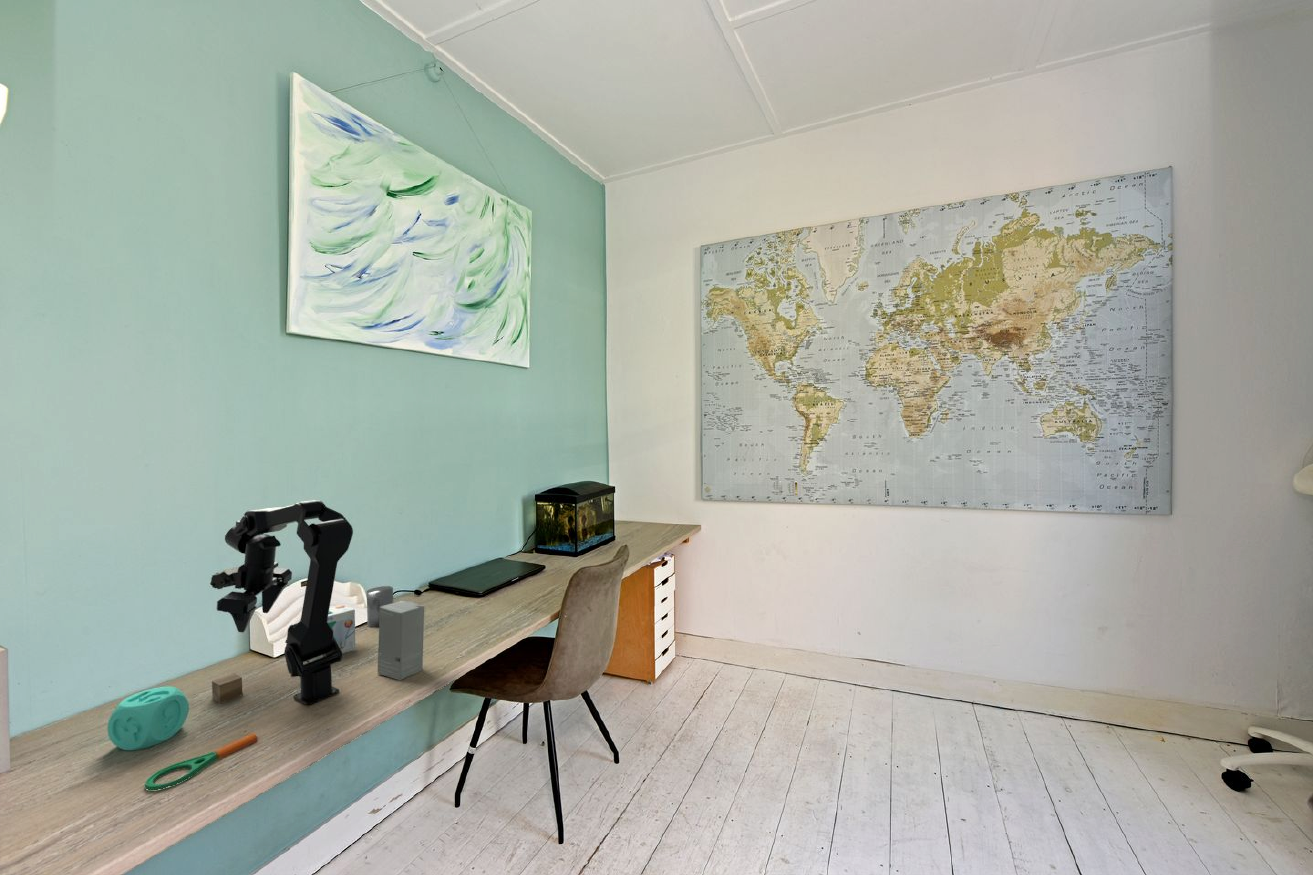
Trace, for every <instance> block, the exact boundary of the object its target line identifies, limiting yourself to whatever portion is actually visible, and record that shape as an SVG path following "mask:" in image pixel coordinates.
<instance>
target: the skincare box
mask: <svg viewBox="0 0 1313 875" xmlns="http://www.w3.org/2000/svg"><path fill="white" fill-rule="evenodd" d="M424 626H425V605H422V604H418V603H416V602H411V601H406V600H399V601H396V602H393V603H392V604H388V605H384V606H382V607H380V619H379V627H378V645H377V646H378V648H377V649H378V652H377V675H382V676H384V677H388V678H391V679H395V680H397V681H402V680H404V679H406V678H408V677H410V676H413V675H415V674H417V673H419V672H421V671H423V665H424V664H423V662H424V660H423V659H424V658H423V657H424V630H425V629H424V628H425V627H424Z"/></svg>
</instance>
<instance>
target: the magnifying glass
mask: <svg viewBox="0 0 1313 875" xmlns="http://www.w3.org/2000/svg"><path fill="white" fill-rule="evenodd" d="M257 741H258V736H257V734H256V733H254V732H253V733H250V734H248V735H246V736H244V737H242V738H240V739H237V740H236V741H234V742H231V743H229V744H227V745H225V746H223V747H220V748H218V749H216V750H215V751H211V752H208V753H205V754H202V755H199V756H195V757H192V758H189V759H186V760H182V761H179V762H175V763H172V764H170V765H168V766H165V767H164V768H161V769H160V770H158V771H156V772H154V773H153V774H152V775H150V776H149V777H148V778H147V779H146V781H145V782H144V789H145V788H146V789H148V790H158V789H163V788H166V787H168V786H173V785H176V784H177V783H180V782H182V781H184V780H186V779H188V778H189V777H191V776H193V777H194V776H196V775H197V774H198V773H200V772H201V771H202V769H203V768H204V769H205V768H207V767H208V766H210V765H211V764H212V763H214V762H215V761H218V760H220V759H223V758H224V757H226V756H228V755H231V754H232V753H235V752H237V751H239V750H241V749H243V748H245V747H247V745H248V746H249V745H252V744H254V743H256V742H257ZM206 766H207V767H206ZM183 768H185V769H187V768H189V772H187V773H185V774H184V775H183V776H181V777H179V778H177V779H175V780H171V781H168V782H164V783H155V782H156V781H157V780H158V779H159V777H160V776H161V777H163V776H165V775H167V774H169V773H171V772H172V773H173V772H174V771H178V770H177V769H179V770H183ZM204 769H203V770H204ZM200 770H201V771H200ZM199 771H200V772H199ZM197 772H198V773H197ZM196 773H197V774H196ZM161 777H160V778H161ZM191 778H192V777H191ZM156 779H157V780H156ZM155 780H156V781H155ZM188 780H189V779H188ZM154 781H155V782H154ZM186 781H187V780H186ZM184 782H185V781H184ZM182 783H183V782H182ZM180 784H181V783H180ZM176 786H177V785H176ZM173 787H174V786H173ZM146 789H145V790H146Z"/></svg>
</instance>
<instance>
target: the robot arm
mask: <svg viewBox="0 0 1313 875" xmlns="http://www.w3.org/2000/svg"><path fill="white" fill-rule="evenodd" d="M315 519H318V520H319V522H314V523H310V524H308V522H306V521H307V520H315ZM292 523H293V524H294V523H297V528H296V535H297V536H298V537H299V539H300V540H301V541H302V543H303V550H304V552H305V554H307V556H308V558H309V567H308V572H307V573H308V574H307V578H306V586H305V592H304V598H303V602H302V609H301V614H300V620H299V621H298V622H296V623H293V624H291V625H289V627H288V628H287V637H286V640H285V641H284V642H285V644H286V645H285V647H284V652H283V654H284V658H285V662H286V666H287V670H288V674H290V677H292V678H296V677H299V681H300V683H299V684H300V692H299V693H296V694H294V695H293V699H294V700H295V701H296V700H297V701H298V702H300V703H303V704H305V705H307V706H309V705H312V704H314V703H317V702H320V701H321V700H324V699H326V698H329V697H331V696H333V695H336V694H338V693H340V689H339V688H337V687H335V686H333V678H332V677H333V676H332V675H333V674H332V665H334V664H336V663H339V662H342V660H343V654H344V653H342V651H341V649H340V648H339V646H338V644H337V642H336V640H335V639H334V637H333V630H332V628H331V627H330V625H329V624H328V622H327V619H328V614H329V609H330V607H331V601H332V597H333V596H332V595H333V591H334V586H335V585H334V584H335V578H336V572H337V567H338V562H339V561H340V560H341V558H342V557H343V556H344V555H345V553H347V551H348V550H349V548H350V545H351V541H352V538H353V534H354V528H353V526H352V524H351V523H350V522H349V520H347V518H346V517H344V514H342V513H341V512H338V511H336V510H334V509H332V508H330V507H328V506H326V504H325V503H324V502H323V501H322V500H318V499H314V500H313V499H312V500H305V501H298V502H297V503H294V504H292V505H287V506H283V507H281V506H279V507H278V506H274V507H268V508H259V509H252V510H247V511H245V512H244V514H243V516H242V517H241V519H240V520H236V521H235V525H234V526H232V527H231V528H230V529H229V530H227V532H226V533H225V535H224V541H225V543H226V544H227V545H228V546H229V547H230V548H232V549H234V550H235V551H237V552H239V553H241V554H243V555H244V563H243V564H241V565H240V566H236V567H231V568H227V569H223V570H222V571H219V572H216V573H214V574H213V575H211V578H210V579H211V580H210V586H211V587H212V588H214V589H217V590H223V588H229V587H233V586H234V589H240V590H241V589H243V590H244V591H243V592H241V591H234V590H233V591H231V592H229V593H228V594H226V595H225V596H223V597H222V598H220V599H219V600H217V601H216V611H218V612H224V613H229V614H230V616H231V617H232V619H233V621H234V624H235V628H236V630H237V632H238V633H244V632H245V631H246V629H247V627H248V626H249V623H251V622H250V621H251V619H252V617H253V615H254V614H255V611H256V609H257V606H256V605H257V602H258V597H257V596H259V595H260V594H261V608H262V613H264V614H268V613H269V612H270V610H271V609H272V608H273V606H274V604H275V603H276V602H277V600H278V598H279V596H280V595H281V594H282V592H283V591H284V589H285V588H286V587H287V585H288V584H289V582H290V581H291V580H292V577H293V572H292V571H291V570H290V568H285V567H279V562H280V561H276V560H275V559H276V550H277V547H280V546H281V542H280V540H279V539H277V537H276V535H269V533H275V532H279V531H282V530H283V529H286V528H287V527H288V525H289V524H292ZM324 654H326V656H324V657H322V658H319V659H317V660H314V661H311V662H309V661H308V660H311V659H313V658H316V657H318V656H321V655H324ZM305 662H307V663H305Z"/></svg>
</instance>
